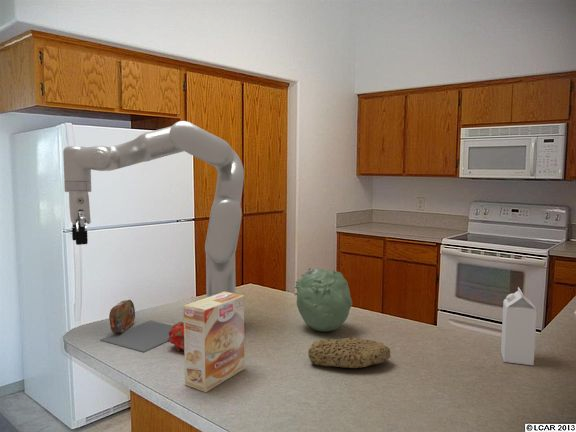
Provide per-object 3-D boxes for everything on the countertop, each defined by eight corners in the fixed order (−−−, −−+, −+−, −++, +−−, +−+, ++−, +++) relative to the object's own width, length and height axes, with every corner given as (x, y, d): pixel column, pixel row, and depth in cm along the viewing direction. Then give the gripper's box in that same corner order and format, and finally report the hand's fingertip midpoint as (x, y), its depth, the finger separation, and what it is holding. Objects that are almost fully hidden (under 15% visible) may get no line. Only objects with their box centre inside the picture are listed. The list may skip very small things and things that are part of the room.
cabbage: (343, 343, 134) (344, 276, 132) (285, 333, 142) (285, 270, 140) (359, 326, 148) (360, 266, 146) (305, 318, 156) (306, 261, 154)
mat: (191, 330, 144) (191, 329, 144) (143, 352, 127) (143, 351, 127) (150, 321, 153) (150, 320, 153) (100, 340, 136) (99, 339, 136)
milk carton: (529, 355, 125) (532, 288, 123) (533, 366, 118) (537, 294, 116) (500, 352, 127) (503, 285, 125) (503, 362, 120) (507, 292, 118)
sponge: (308, 374, 116) (385, 370, 109) (304, 343, 117) (380, 337, 110) (323, 364, 128) (394, 359, 121) (320, 335, 130) (390, 329, 122)
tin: (119, 336, 138) (116, 309, 137) (108, 337, 138) (106, 309, 137) (136, 321, 153) (134, 296, 152) (127, 321, 153) (125, 297, 152)
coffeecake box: (206, 393, 104) (204, 309, 102) (183, 385, 108) (181, 304, 106) (246, 369, 116) (245, 294, 115) (224, 362, 120) (223, 290, 118)
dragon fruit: (168, 350, 132) (205, 361, 129) (156, 342, 125) (194, 354, 122) (179, 322, 136) (215, 332, 133) (168, 313, 129) (206, 324, 125)
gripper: (95, 188, 134) (97, 245, 136) (87, 186, 149) (89, 237, 151) (67, 188, 131) (69, 247, 132) (62, 186, 145) (64, 239, 147)
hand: (79, 242), depth 142 cm, fingers open, 9 cm apart
